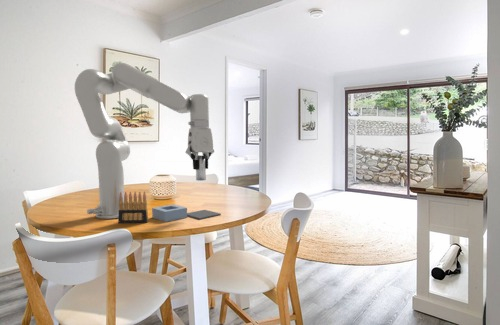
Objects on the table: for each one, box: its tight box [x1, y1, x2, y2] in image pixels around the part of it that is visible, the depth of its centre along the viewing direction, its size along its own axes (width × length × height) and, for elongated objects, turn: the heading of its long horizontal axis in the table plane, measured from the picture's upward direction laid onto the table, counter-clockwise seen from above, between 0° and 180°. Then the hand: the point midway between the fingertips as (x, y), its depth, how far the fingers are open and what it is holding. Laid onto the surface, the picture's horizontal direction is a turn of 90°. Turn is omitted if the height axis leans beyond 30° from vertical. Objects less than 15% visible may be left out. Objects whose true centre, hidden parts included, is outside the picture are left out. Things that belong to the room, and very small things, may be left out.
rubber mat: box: [187, 209, 222, 221], centre depth 133 cm, size 11×11×1 cm
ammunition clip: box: [117, 191, 149, 224], centre depth 121 cm, size 11×2×12 cm, turn 95°
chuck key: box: [195, 154, 207, 182], centre depth 132 cm, size 4×8×10 cm, turn 45°
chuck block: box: [151, 204, 188, 223], centre depth 129 cm, size 10×10×4 cm
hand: (200, 168), depth 132 cm, fingers closed on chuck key, 4 cm apart
